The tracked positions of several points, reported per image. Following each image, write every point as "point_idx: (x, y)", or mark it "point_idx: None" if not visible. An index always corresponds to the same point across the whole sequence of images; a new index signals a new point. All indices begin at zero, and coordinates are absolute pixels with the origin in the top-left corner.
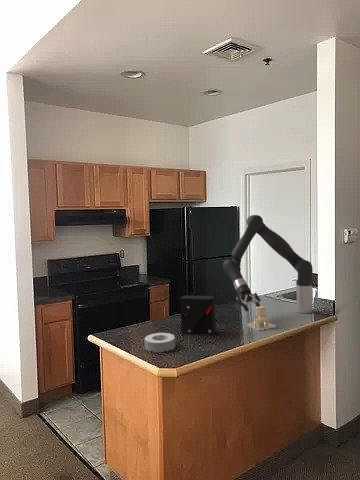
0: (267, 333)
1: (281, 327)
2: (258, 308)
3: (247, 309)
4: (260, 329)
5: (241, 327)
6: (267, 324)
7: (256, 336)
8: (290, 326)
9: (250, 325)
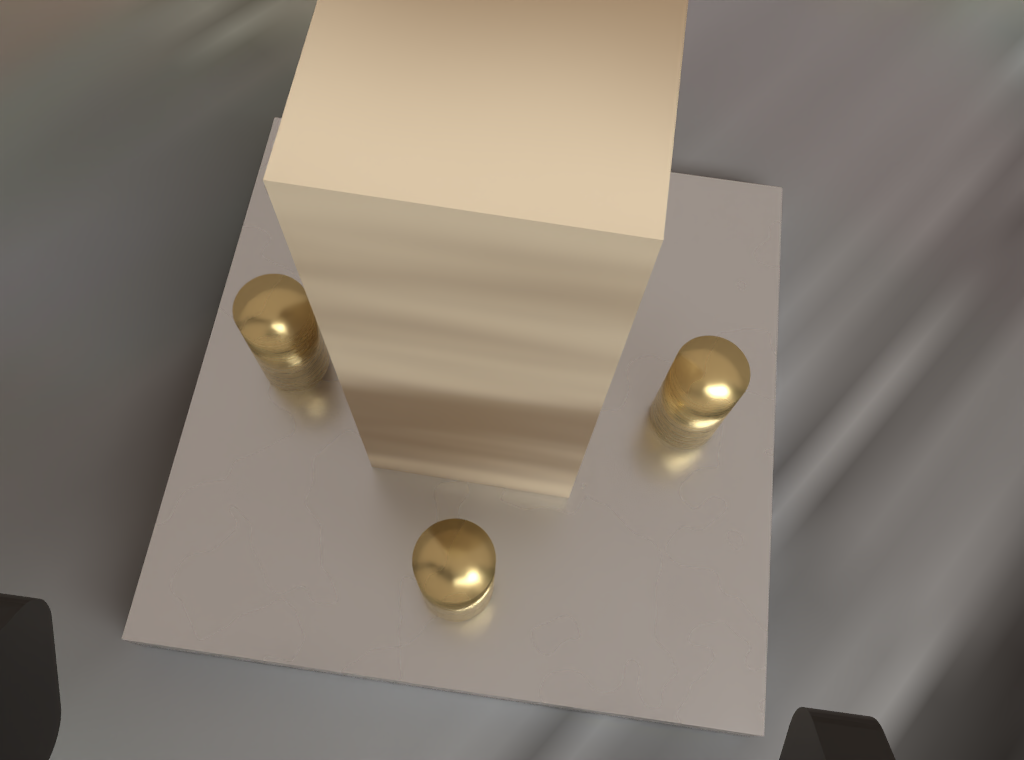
0: (730, 17)
1: (209, 81)
2: (682, 35)
3: (874, 734)
4: (731, 190)
5: (961, 699)
6: None
7: (1020, 29)
8: (20, 15)
9: (758, 530)
